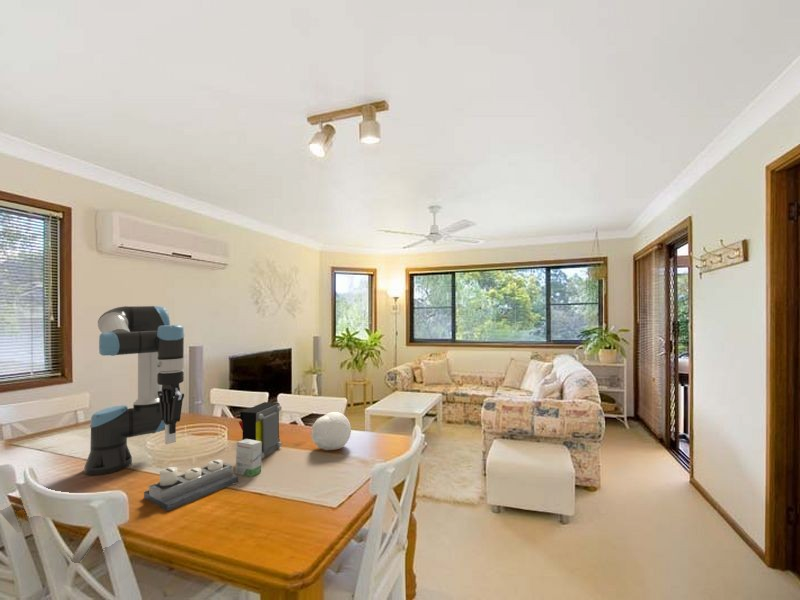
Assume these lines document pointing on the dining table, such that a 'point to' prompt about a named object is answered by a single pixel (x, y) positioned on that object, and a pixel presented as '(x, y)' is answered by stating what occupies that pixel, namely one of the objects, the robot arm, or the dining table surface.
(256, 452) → the ink box
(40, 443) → the dining table surface
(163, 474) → the knob near
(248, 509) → the dining table surface
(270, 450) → the electrical component
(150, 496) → the mount
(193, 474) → the knob mid
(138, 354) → the robot arm
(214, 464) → the knob far
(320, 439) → the decorative orb
